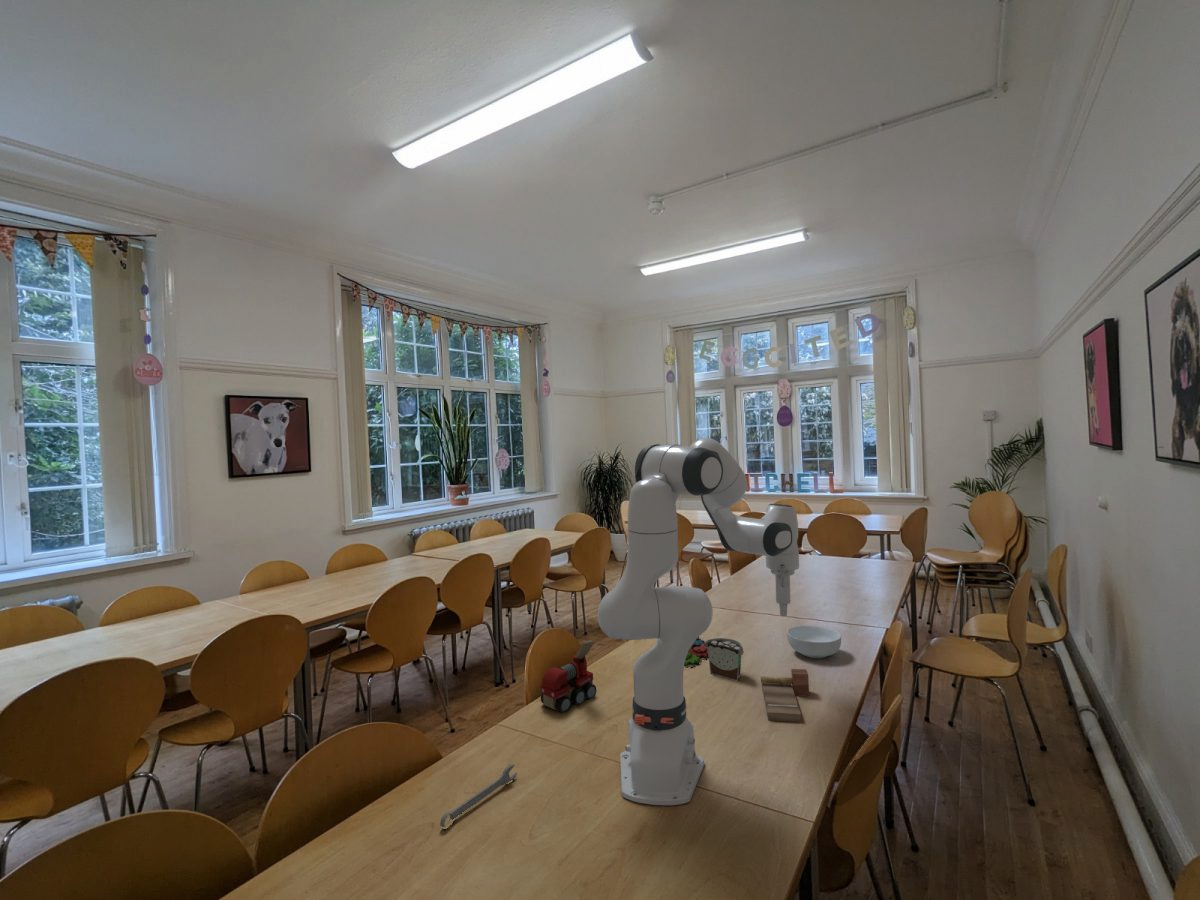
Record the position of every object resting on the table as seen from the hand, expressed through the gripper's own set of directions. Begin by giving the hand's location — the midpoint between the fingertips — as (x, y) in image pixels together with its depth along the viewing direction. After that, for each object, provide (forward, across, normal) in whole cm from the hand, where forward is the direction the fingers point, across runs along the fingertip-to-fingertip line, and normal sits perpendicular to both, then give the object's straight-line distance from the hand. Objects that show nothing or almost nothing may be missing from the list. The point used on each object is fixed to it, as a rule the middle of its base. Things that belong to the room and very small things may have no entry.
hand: (783, 609), depth 155 cm
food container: (+24, +9, +16) cm, 31 cm away
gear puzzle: (+26, +20, +32) cm, 46 cm away
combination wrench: (+22, -65, +59) cm, 91 cm away
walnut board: (+23, -8, +2) cm, 24 cm away
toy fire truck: (+24, -20, +57) cm, 65 cm away
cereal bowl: (+25, +31, -10) cm, 41 cm away
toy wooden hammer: (+24, 0, 0) cm, 24 cm away
